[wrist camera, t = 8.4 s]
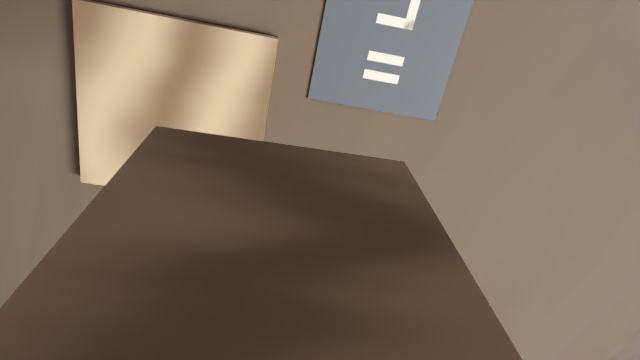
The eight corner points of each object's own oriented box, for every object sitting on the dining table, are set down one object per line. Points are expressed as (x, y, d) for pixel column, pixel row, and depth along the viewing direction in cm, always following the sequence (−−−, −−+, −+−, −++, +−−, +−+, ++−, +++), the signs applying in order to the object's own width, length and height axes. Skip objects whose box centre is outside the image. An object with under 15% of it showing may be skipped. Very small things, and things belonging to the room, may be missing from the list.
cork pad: (278, 37, 27) (278, 39, 27) (254, 201, 32) (253, 206, 32) (78, -3, 26) (71, -2, 25) (85, 177, 31) (80, 182, 30)
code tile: (479, -19, 26) (480, -19, 26) (434, 120, 30) (434, 121, 30) (335, -51, 25) (336, -51, 25) (307, 97, 29) (307, 98, 29)
